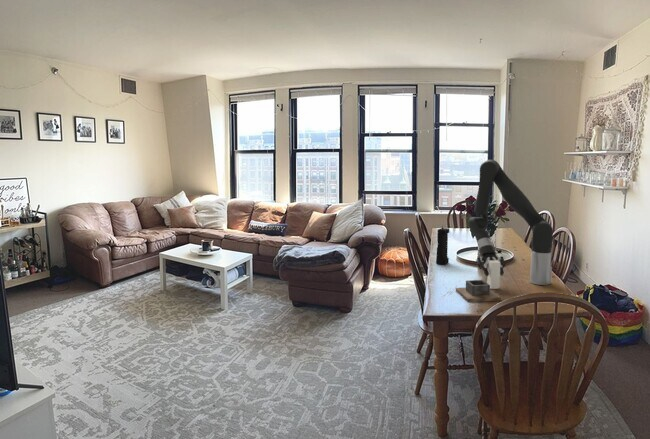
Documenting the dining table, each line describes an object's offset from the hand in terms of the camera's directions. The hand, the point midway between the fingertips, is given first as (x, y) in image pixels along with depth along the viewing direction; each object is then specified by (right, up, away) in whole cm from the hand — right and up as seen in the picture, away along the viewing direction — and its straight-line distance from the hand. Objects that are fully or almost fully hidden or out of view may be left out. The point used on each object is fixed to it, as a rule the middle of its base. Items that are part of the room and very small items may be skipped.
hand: (494, 275), depth 210 cm
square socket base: (-12, -9, -9) cm, 18 cm away
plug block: (0, -7, +3) cm, 7 cm away
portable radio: (-13, +1, +51) cm, 52 cm away
